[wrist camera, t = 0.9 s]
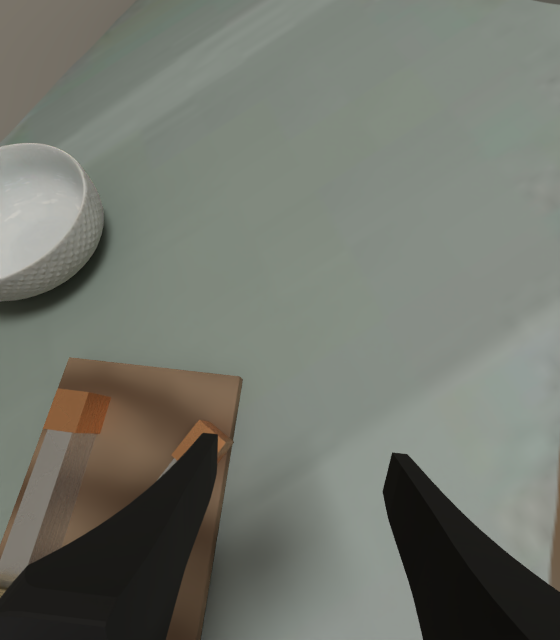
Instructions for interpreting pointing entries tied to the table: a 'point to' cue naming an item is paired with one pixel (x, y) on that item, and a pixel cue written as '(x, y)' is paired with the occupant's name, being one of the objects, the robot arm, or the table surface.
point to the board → (149, 457)
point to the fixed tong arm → (54, 480)
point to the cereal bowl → (44, 219)
